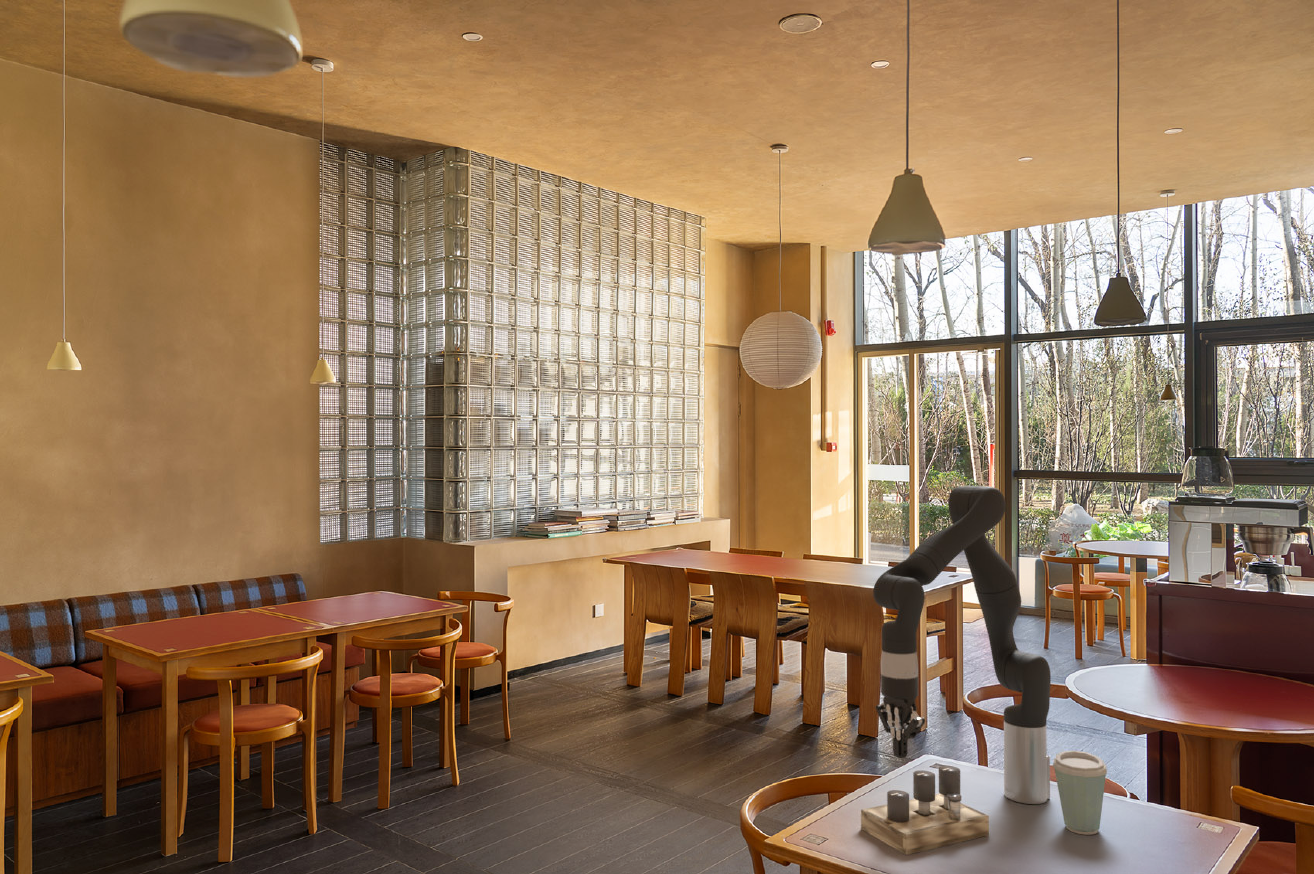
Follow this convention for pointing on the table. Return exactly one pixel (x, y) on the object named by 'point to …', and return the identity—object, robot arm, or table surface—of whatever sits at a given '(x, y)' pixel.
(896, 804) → the knob
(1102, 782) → the disposable coffee cup
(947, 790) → the knob
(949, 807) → the capped glass vial
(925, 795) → the knob mid
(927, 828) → the mount
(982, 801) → the table surface
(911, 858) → the table surface
